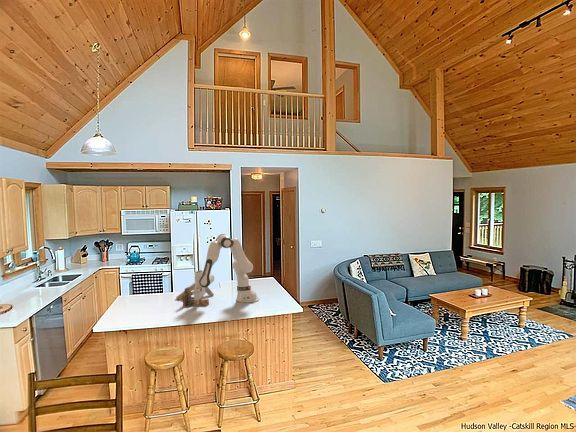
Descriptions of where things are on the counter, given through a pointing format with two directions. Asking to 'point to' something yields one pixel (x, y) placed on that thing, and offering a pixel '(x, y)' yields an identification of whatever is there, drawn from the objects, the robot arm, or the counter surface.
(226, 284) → the counter surface
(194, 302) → the rail
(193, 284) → the wall bracket
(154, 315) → the counter surface
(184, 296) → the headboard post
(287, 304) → the counter surface
